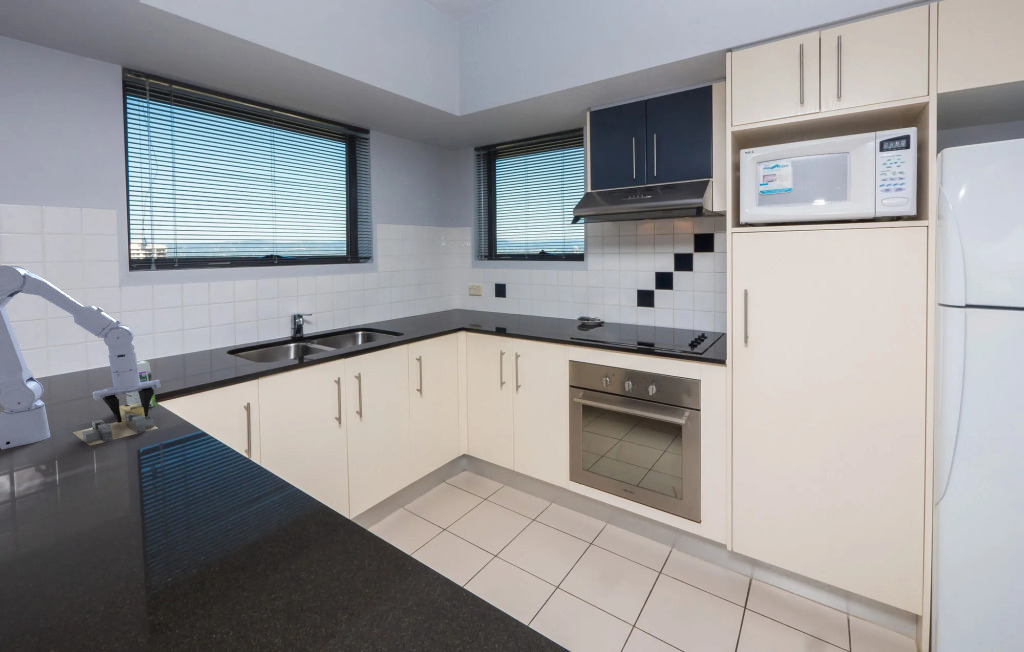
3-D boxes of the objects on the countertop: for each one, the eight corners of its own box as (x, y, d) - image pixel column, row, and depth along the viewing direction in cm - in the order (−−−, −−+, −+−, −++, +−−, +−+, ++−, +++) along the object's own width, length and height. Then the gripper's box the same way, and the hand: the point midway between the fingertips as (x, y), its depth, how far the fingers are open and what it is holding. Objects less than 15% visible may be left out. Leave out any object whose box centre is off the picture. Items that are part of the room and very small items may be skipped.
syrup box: (134, 413, 147) (126, 365, 145) (127, 410, 150) (120, 363, 148) (157, 408, 151) (149, 361, 149) (150, 405, 155) (143, 359, 153)
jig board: (90, 448, 118) (89, 445, 118) (72, 435, 129) (72, 432, 129) (158, 431, 129) (158, 428, 129) (137, 419, 140) (137, 417, 140)
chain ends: (90, 445, 118) (87, 430, 117) (80, 438, 123) (78, 424, 123) (158, 428, 129) (155, 414, 128) (146, 422, 134) (144, 409, 134)
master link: (129, 426, 132) (126, 409, 131) (120, 421, 137) (118, 405, 136) (145, 422, 134) (143, 406, 134) (136, 417, 139) (133, 402, 139)
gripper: (94, 377, 125) (103, 429, 127) (161, 366, 137) (168, 413, 138) (87, 374, 130) (95, 424, 132) (152, 363, 141) (159, 409, 143)
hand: (132, 418), depth 135 cm, fingers open, 5 cm apart
